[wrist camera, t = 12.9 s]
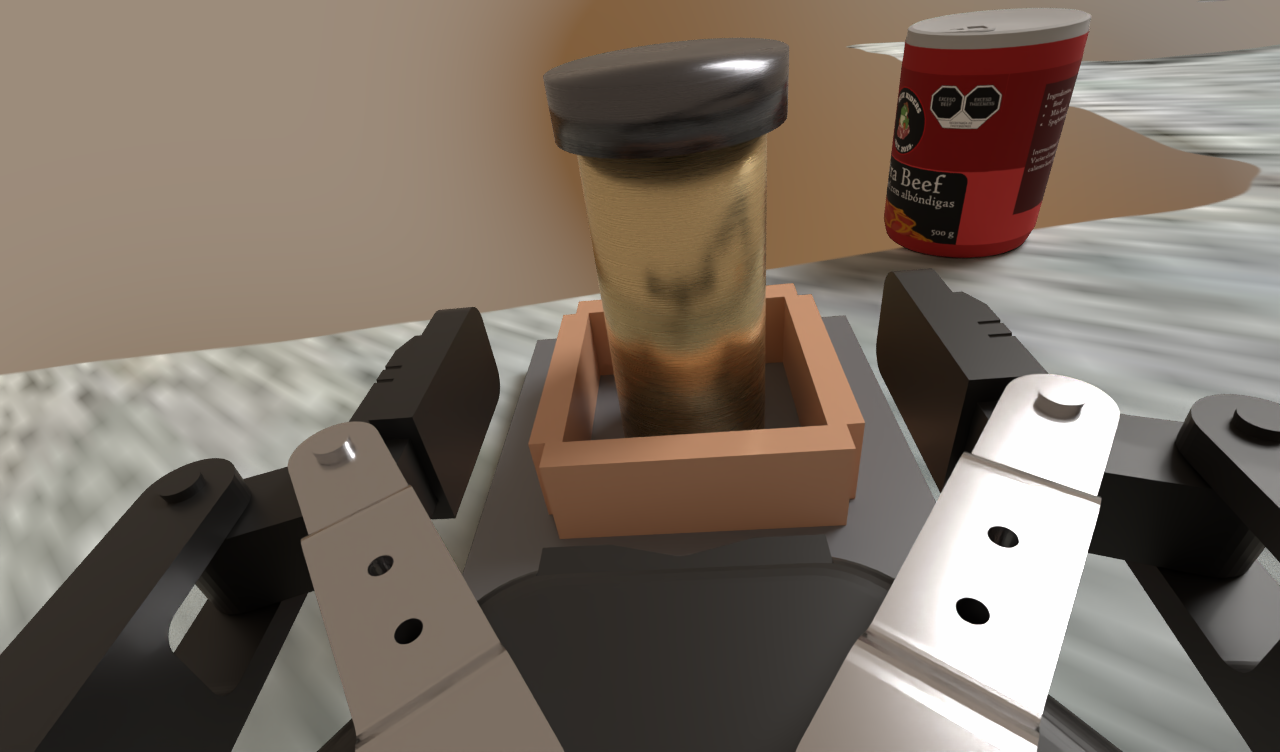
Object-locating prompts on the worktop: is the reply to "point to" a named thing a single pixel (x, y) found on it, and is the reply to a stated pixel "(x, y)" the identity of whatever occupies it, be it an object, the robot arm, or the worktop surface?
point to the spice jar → (678, 220)
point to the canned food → (979, 127)
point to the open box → (703, 458)
